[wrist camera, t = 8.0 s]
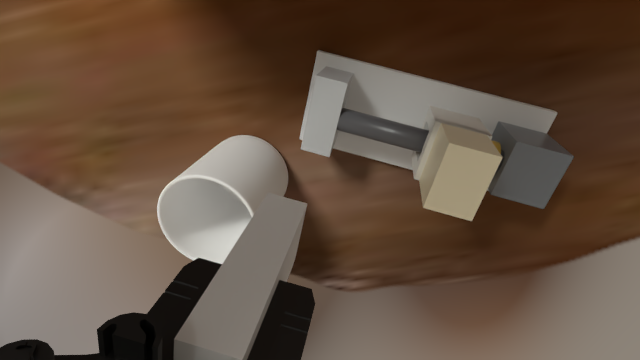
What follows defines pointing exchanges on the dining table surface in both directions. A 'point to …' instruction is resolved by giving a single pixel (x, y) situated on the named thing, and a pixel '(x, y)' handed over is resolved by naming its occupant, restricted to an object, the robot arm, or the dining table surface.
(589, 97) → the dining table surface
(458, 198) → the sleeve
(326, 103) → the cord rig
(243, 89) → the dining table surface
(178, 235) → the cup
